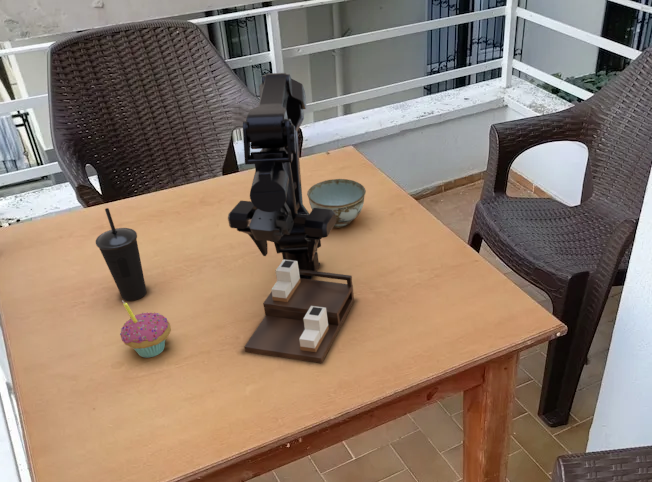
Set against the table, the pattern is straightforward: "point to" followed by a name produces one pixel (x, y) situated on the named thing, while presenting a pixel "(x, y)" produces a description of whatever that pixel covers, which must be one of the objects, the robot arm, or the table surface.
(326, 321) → the white stacked box shape
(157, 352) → the cupcake
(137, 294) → the drinking cup
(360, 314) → the table surface
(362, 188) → the bowl
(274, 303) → the shoe rack
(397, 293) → the table surface
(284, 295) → the white l-shaped block
